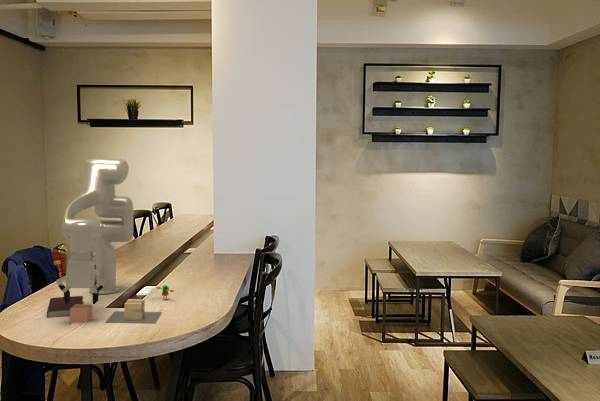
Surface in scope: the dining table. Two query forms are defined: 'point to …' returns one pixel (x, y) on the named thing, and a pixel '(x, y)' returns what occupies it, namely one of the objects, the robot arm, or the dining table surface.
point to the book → (62, 306)
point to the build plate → (147, 319)
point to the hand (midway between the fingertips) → (81, 303)
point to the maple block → (134, 309)
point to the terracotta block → (81, 313)
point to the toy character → (165, 291)
